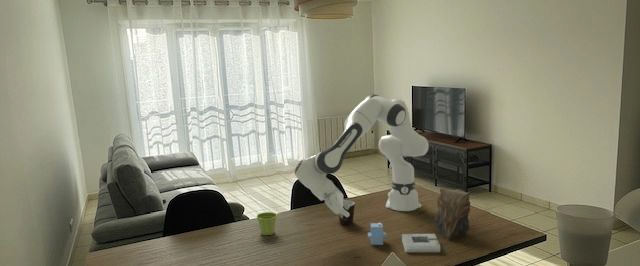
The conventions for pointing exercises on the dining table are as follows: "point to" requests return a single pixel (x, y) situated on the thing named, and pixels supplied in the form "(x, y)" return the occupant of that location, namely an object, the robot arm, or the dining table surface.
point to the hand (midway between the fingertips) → (348, 212)
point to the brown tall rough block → (452, 213)
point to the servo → (377, 234)
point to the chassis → (420, 243)
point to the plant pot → (267, 222)
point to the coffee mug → (349, 220)
